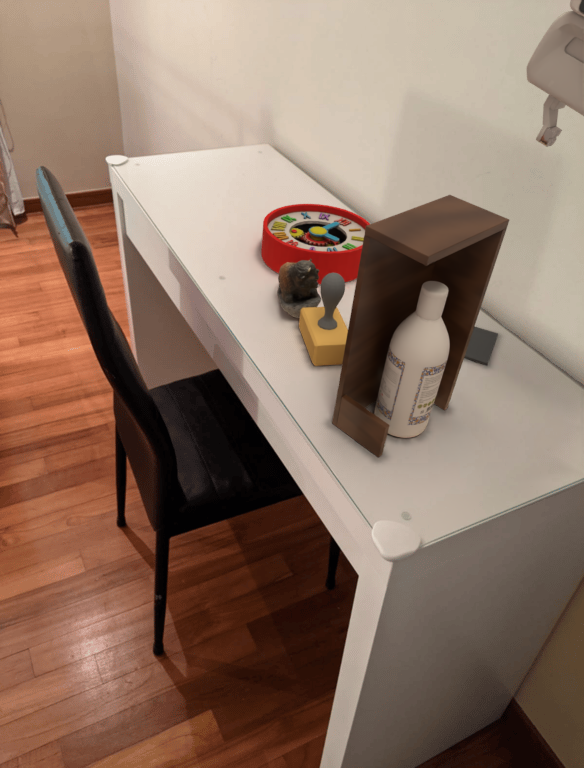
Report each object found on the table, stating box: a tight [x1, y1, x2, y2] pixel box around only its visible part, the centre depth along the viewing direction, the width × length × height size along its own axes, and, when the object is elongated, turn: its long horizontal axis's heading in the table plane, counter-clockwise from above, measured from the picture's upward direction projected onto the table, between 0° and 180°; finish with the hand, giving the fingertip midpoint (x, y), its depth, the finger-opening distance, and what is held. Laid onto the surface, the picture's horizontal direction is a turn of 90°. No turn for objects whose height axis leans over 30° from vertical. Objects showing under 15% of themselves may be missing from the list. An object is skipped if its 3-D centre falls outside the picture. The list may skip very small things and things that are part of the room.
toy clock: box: [260, 203, 371, 285], centre depth 110 cm, size 20×6×20 cm
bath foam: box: [373, 281, 450, 439], centre depth 73 cm, size 7×7×20 cm
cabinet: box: [331, 194, 510, 458], centre depth 71 cm, size 8×15×27 cm, turn 134°
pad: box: [464, 325, 499, 366], centre depth 95 cm, size 9×9×1 cm
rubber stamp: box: [298, 273, 348, 367], centre depth 87 cm, size 10×6×12 cm, turn 12°
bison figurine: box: [277, 259, 322, 318], centre depth 96 cm, size 12×7×10 cm, turn 8°
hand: (578, 166), depth 65 cm, fingers open, 8 cm apart
